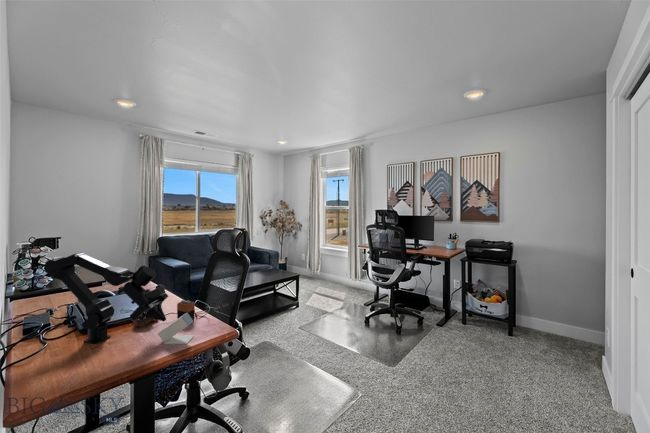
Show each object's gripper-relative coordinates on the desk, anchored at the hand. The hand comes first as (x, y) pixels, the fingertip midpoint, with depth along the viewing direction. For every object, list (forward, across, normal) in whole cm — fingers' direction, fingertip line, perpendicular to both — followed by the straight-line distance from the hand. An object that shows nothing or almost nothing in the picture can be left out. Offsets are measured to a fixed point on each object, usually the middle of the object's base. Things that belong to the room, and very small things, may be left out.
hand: (165, 320), depth 120 cm
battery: (+6, +19, +6) cm, 21 cm away
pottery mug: (-7, +16, +19) cm, 26 cm away
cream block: (+4, 0, +5) cm, 6 cm away
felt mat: (+10, 0, +2) cm, 10 cm away
